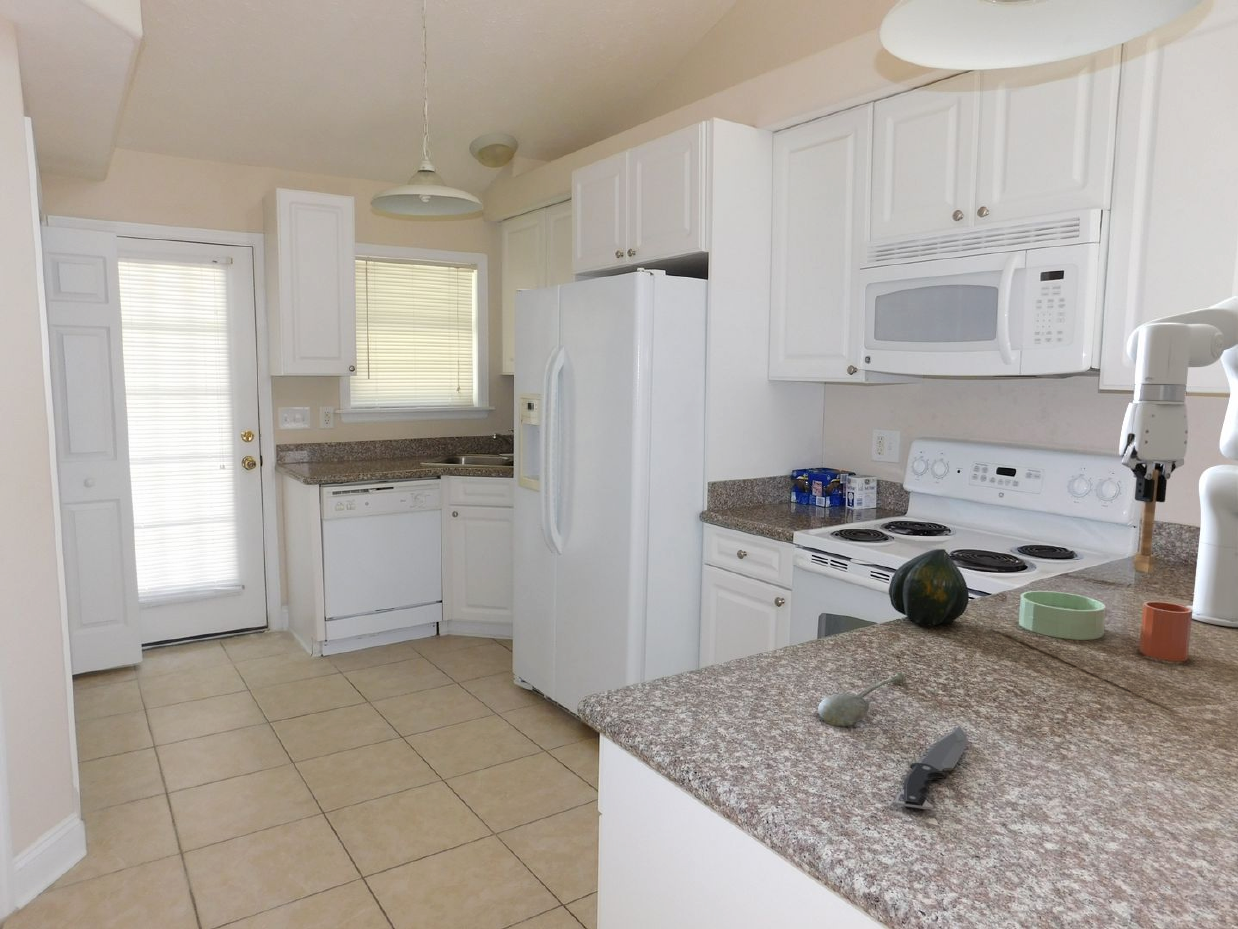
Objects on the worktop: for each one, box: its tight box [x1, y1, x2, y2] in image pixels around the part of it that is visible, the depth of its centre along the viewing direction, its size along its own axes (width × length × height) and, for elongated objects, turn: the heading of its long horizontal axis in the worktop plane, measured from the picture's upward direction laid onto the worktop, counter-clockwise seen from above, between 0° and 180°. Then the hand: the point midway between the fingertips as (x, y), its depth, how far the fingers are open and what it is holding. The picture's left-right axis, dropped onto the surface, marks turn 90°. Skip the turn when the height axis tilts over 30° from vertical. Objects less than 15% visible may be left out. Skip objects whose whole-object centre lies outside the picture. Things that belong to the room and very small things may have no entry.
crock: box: [1138, 600, 1193, 662], centre depth 140 cm, size 7×7×9 cm
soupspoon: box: [817, 672, 906, 727], centre depth 117 cm, size 22×3×7 cm
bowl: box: [1017, 590, 1107, 641], centre depth 154 cm, size 14×14×6 cm
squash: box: [888, 548, 970, 626], centre depth 159 cm, size 14×15×15 cm
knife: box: [894, 725, 968, 811], centre depth 98 cm, size 26×1×5 cm
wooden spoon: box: [1133, 469, 1159, 574], centre depth 142 cm, size 3×2×18 cm, turn 13°
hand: (1149, 500), depth 141 cm, fingers closed on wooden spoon, 1 cm apart
